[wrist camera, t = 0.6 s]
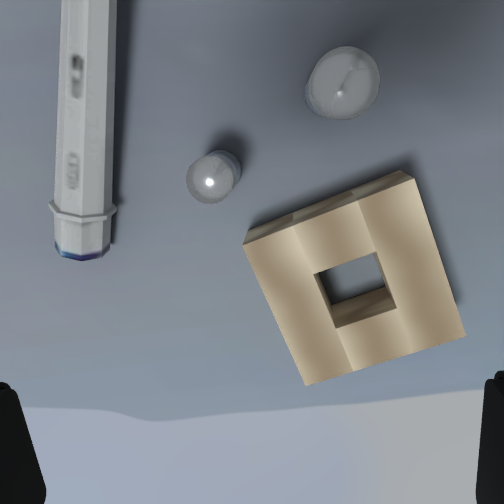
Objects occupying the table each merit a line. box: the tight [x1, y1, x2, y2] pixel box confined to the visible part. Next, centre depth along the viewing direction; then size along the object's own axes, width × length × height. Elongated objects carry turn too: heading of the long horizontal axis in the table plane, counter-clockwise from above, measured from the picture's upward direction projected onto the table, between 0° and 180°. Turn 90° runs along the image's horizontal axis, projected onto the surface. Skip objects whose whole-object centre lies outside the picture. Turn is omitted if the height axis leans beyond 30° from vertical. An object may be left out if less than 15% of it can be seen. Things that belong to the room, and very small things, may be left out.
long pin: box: [304, 46, 380, 120], centre depth 25 cm, size 3×3×12 cm
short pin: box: [186, 150, 241, 204], centre depth 30 cm, size 3×3×5 cm
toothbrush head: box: [49, 0, 117, 261], centre depth 30 cm, size 5×7×25 cm
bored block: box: [242, 170, 466, 386], centre depth 32 cm, size 12×12×4 cm
